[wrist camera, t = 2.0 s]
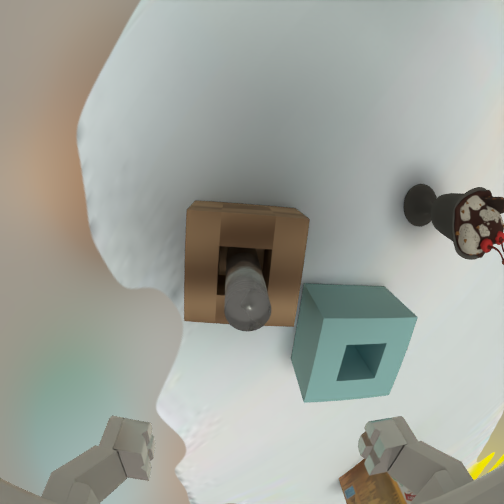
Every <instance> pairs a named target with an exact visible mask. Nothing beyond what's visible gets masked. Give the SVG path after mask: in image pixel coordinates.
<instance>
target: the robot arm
mask: <svg viewBox="0 0 504 504" xmlns="http://www.w3.org/2000/svg"><path fill="white" fill-rule="evenodd" d="M152 429H153V428H152V423H150V422H144V421H139V420H133V419H128V418H122V417H117V416H111V417H110V418H109V421H108V423H107V426H106V428H105V431H104V434H103V436H102V439H101V441H100V444H99V446H96V445H95V446H93V447H92V448H91V449H89V450H87V451H86V452H84V453H82V454H81V455H79V456H78V457H76V458H74V459H73V460H71V461H70V462H68V463H66V464H65V465H63V466H61V467H60V468H58V469H56V470H55V471H53V472H52V473H51V475H50V477H49V480H48V482H47V484H46V487H45V489H44V491H43V494H42V496H41V497H40V496H38V495H35V494H33V493H31V492H28V491H26V490H24V489H22V488H19V487H17V486H15V485H13V484H11V483H9V482H7V481H5V480H3V479H1V478H0V504H100V502H101V501H103V499H105V498H106V497H107V496H108V495H109V494H111V492H113V491H114V490H115V489H116V488H117V487H118V486H119V485H120V484H122V483H123V482H124V481H125V480H126V479H127V477H128V478H135V479H141V480H148V481H149V478H150V473H151V468H152V467H151V463H150V461H151V460H152V459H153V458H154V452H155V440H154V436H153V435H152ZM365 431H366V432H364V433H363V434H362V435H361V436H360V439H359V443H358V448H359V452H360V455H361V456H362V457H363V458H365V459H366V460H365V463H364V465H365V467H366V469H367V472H368V474H369V475H374V474H379V473H384V472H387V473H388V474H389V475H391V476H392V477H393V478H395V479H396V480H397V481H398V482H400V483H401V484H402V485H404V486H405V487H406V488H407V489H409V490H410V491H411V492H413V493H414V494H415V495H416V496H415V498H414V499H413V500H412V501H411V502H410V504H504V464H503V465H502V466H500V467H498V468H496V469H495V470H493V471H491V472H489V473H487V474H485V475H483V476H482V477H480V478H478V479H476V480H473V479H472V477H471V476H470V474H469V473H468V471H467V470H466V468H465V467H464V465H463V463H462V462H461V461H459V460H457V459H455V458H453V457H451V456H449V455H447V454H445V453H443V452H441V451H439V450H437V449H435V448H433V447H432V446H430V445H428V444H426V443H424V442H422V441H419V442H418V440H417V439H416V437H415V435H414V434H413V432H412V430H411V429H410V427H409V426H408V424H407V422H406V421H405V419H404V418H403V417H402V416H399V417H393V418H387V419H381V420H375V421H369V422H368V423H367V424H366V426H365Z"/></svg>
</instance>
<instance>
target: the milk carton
mask: <svg viewBox="0 0 504 504" xmlns="http://www.w3.org/2000/svg"><path fill="white" fill-rule="evenodd" d="M365 460H366V459H363V460H362V461H361V462H360V463H358V464H357V465H356V466H355V467H353V468H352V469H351V470H349V471H348V472H347V473H345V474H344V475H343V476H341V477H340V478H339V481H340V484H341V487H342V490H343V493H344V497H345V500H346V503H347V504H410V502H411V501H412V500H413V499H414V498H415V496H416V495H415V494H414V493H413V492H411V491H410V490H409V489H407V488H406V487H405V486H404V485H402V484H401V483H400V482H398V481H397V480H396V479H395V478H393V477H392V476H391V475H389V474H388V473H387V472H384V473H379V474H374V475H369V474H368V472H367V469H366V467H365V465H364V463H365Z"/></svg>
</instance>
